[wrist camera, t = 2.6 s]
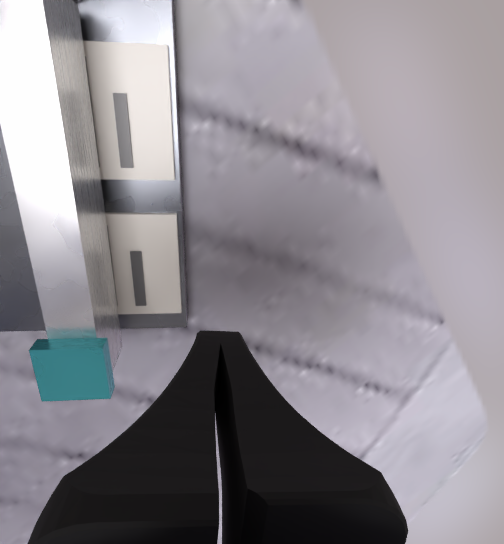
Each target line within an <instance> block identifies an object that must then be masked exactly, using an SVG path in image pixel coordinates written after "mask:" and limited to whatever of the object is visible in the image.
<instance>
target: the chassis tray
mask: <svg viewBox="0 0 504 544" xmlns="http://www.w3.org/2000/svg"><path fill="white" fill-rule="evenodd" d="M76 4H78V8H79V16H80V24H81V32H82V39H83V41H100V42H121V43H143V44H164V45H168V50H169V70H170V89H171V109H172V128H173V148H174V167H175V180H111V179H101V186H102V193H103V201H104V209H105V213H177V225H178V245H179V264H180V284H181V303H182V312H181V313H163V314H118V317H119V324H120V329H125V328H168V327H187V320H188V308H187V286H186V263H185V241H184V218H183V196H182V173H181V151H180V128H179V106H178V83H177V61H176V38H175V16H174V0H81V1H80V2H77V3H76ZM40 330H46V327H45V323H44V318H43V314H42V309H41V305H40V300H39V296H38V291H37V287H36V282H35V278H34V273H33V269H32V264H31V260H30V255H29V251H28V246H27V242H26V237H25V233H24V228H23V224H22V219H21V215H20V210H19V206H18V201H17V197H16V192H15V188H14V183H13V179H12V174H11V170H10V165H9V161H8V156H7V152H6V147H5V143H4V138H3V134H2V129H1V125H0V331H40Z"/></svg>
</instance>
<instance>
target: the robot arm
mask: <svg viewBox="0 0 504 544" xmlns="http://www.w3.org/2000/svg"><path fill="white" fill-rule="evenodd" d="M215 413H216V424H217V435H218V446H219V456H220V467H221V479H222V544H405V542H406V538H407V534H408V528H407V523H406V519H405V517H404V515H403V513H402V510H401V508H400V506H399V504H398V502H397V500H396V498H395V496H394V494H393V492H392V490H391V489H390V487H389V485H388V484H387V482H386V480H385V479H384V477H383V475H382V473H381V472H380V471H378V470H376V469H375V468H373V467H371V466H370V465H368V464H366V463H365V462H363V461H362V460H360V459H358V458H357V457H355V456H353V455H352V454H350V453H348V452H347V451H346V450H344V449H343V448H341V447H340V446H338V445H337V444H336V443H334V442H333V441H331V440H330V439H329V438H327V437H326V436H325V435H324V434H322V433H321V432H320V431H318V430H317V429H316V428H315V427H314V426H313V425H311V424H310V423H309V422H308V421H307V420H306V419H304V418H303V417H302V416H301V415H300V414H299V413H298V412H297V411H296V410H295V409H294V408H293V407H292V406H291V405H290V404H289V403H288V402H287V401H286V400H285V399H284V398H283V396H282V395H281V394H280V393H279V392H278V391H277V389H276V388H275V387H274V386H273V384H272V383H271V382H270V380H269V379H268V378H267V376H266V375H265V374H264V372H263V371H262V369H261V368H260V366H259V365H258V363H257V362H256V360H255V359H254V357H253V356H252V354H251V352H250V351H249V349H248V347H247V345H246V343H245V341H244V339H243V337H242V335H241V334H240V333H239V332H226V331H200V332H198V333H197V336H196V339H195V342H194V344H193V346H192V348H191V350H190V352H189V354H188V356H187V357H186V359H185V361H184V362H183V364H182V366H181V367H180V369H179V371H178V372H177V373H176V375H175V376H174V378H173V379H172V380H171V382H170V383H169V385H168V386H167V387H166V389H165V390H164V391H163V392H162V394H161V395H160V396H159V397H158V398H157V400H156V401H155V402H154V403H153V404H152V405H151V406H150V407H149V408H148V409H147V410H146V411H145V412H144V413H143V415H142V416H141V417H140V418H139V419H138V420H137V421H136V422H135V423H133V424H132V425H131V426H130V427H129V428H128V429H127V430H126V431H125V432H123V433H122V434H121V435H120V436H119V437H117V438H116V439H115V440H114V441H113V442H111V443H110V444H109V445H108V446H107V447H105V448H104V449H103V450H102V451H100V452H99V453H98V454H96V455H95V456H93V457H92V458H91V459H89V460H88V461H86V462H85V463H83V464H82V465H80V466H79V467H77V468H76V469H75V470H73V471H71V472H70V473H68V474H67V475H65V476H64V477H63V478H62V480H61V481H60V483H59V484H58V486H57V487H56V489H55V491H54V492H53V494H52V495H51V497H50V499H49V501H48V502H47V504H46V506H45V508H44V509H43V511H42V513H41V515H40V517H39V519H38V521H37V523H36V525H35V527H34V530H33V532H32V534H31V537H30V539H29V542H28V544H217V539H218V529H219V489H218V476H217V459H216V438H215Z"/></svg>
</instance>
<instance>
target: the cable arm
mask: <svg viewBox="0 0 504 544" xmlns="http://www.w3.org/2000/svg"><path fill="white" fill-rule="evenodd" d="M0 125H1V129H2V134H3V138H4V143H5V147H6V152H7V156H8V161H9V165H10V170H11V174H12V179H13V183H14V188H15V192H16V197H17V201H18V206H19V210H20V215H21V219H22V224H23V228H24V233H25V237H26V242H27V246H28V251H29V255H30V260H31V264H32V269H33V273H34V278H35V282H36V287H37V291H38V296H39V300H40V305H41V309H42V314H43V318H44V323H45V327H46V332H47V336H48V339H37V340H36V342H35V343H34V344H33V346H32V347H31V348H30V350H29V352H30V356H31V360H32V364H33V368H34V372H35V376H36V380H37V384H38V388H39V392H40V396H41V400H42V401H64V400H88V399H110V398H111V396H112V393H113V390H114V387H115V386H114V379H113V369H114V367H115V364H116V361H117V359H118V356H119V353H120V351H121V348H122V340H121V332H120V324H119V317H118V309H117V301H116V294H115V286H114V278H113V271H112V263H111V255H110V247H109V240H108V232H107V224H106V217H105V209H104V201H103V193H102V186H101V178H100V170H99V163H98V155H97V147H96V139H95V132H94V124H93V116H92V109H91V101H90V93H89V86H88V78H87V70H86V62H85V55H84V47H83V39H82V32H81V24H80V16H79V8H78V4H76V3H75V2H74V1H72V0H0Z"/></svg>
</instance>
